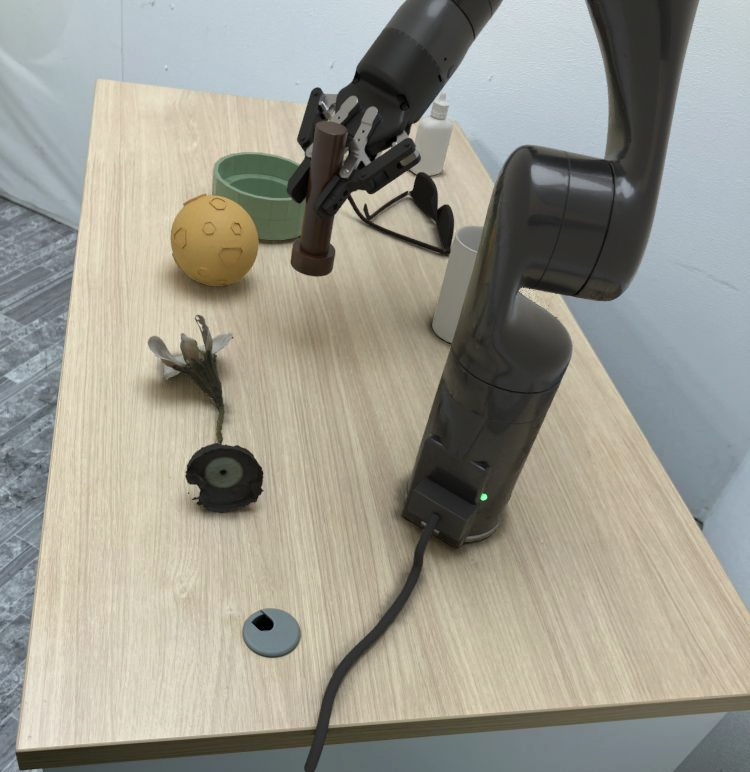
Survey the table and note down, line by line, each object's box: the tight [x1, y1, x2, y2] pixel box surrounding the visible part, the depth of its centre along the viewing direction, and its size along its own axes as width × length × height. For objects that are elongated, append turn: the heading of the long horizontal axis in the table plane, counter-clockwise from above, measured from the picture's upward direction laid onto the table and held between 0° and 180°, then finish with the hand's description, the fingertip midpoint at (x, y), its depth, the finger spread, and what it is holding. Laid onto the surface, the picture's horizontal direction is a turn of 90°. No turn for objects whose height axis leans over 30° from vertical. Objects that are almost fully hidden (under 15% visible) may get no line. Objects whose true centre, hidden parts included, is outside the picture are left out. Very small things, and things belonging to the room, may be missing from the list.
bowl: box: [211, 151, 306, 241], centre depth 106 cm, size 13×13×6 cm
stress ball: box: [169, 193, 260, 287], centre depth 92 cm, size 10×10×10 cm
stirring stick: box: [290, 121, 348, 278], centre depth 78 cm, size 4×4×14 cm
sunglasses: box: [347, 172, 455, 255], centre depth 112 cm, size 17×14×5 cm
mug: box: [431, 224, 484, 344], centre depth 95 cm, size 10×7×12 cm, turn 1°
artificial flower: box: [147, 314, 265, 514], centre depth 75 cm, size 9×22×10 cm, turn 11°
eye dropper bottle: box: [409, 91, 454, 177], centre depth 125 cm, size 4×6×12 cm
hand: (306, 205), depth 77 cm, fingers closed on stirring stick, 3 cm apart
